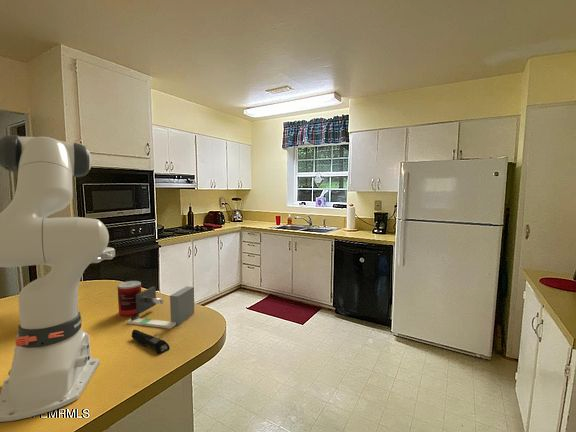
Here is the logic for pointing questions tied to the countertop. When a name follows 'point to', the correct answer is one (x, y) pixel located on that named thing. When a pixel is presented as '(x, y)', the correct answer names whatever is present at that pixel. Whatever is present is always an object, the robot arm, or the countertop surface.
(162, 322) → the push gauge
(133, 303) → the canned food
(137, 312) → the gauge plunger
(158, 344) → the electric trimmer
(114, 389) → the countertop surface
